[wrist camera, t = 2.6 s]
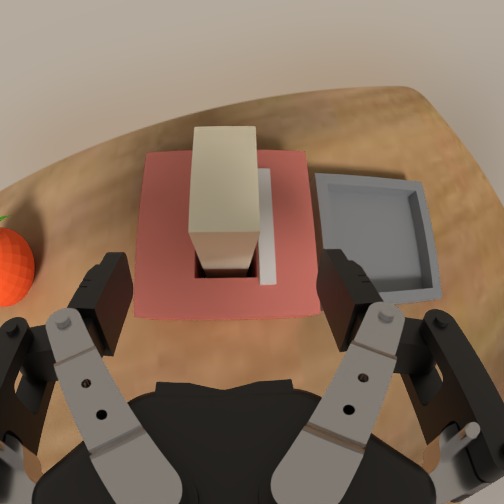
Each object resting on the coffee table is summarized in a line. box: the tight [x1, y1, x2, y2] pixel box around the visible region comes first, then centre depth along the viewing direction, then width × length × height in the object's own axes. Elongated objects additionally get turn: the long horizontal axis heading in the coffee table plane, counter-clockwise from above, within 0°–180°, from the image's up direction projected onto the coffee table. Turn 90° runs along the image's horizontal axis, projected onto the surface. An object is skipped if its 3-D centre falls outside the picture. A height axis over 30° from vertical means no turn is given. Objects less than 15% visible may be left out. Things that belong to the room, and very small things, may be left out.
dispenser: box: [134, 150, 321, 320], centre depth 22 cm, size 12×12×6 cm
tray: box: [309, 173, 442, 311], centre depth 25 cm, size 11×11×2 cm
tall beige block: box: [188, 126, 260, 278], centre depth 19 cm, size 3×6×12 cm, turn 2°
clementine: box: [0, 216, 34, 307], centre depth 19 cm, size 8×7×7 cm
